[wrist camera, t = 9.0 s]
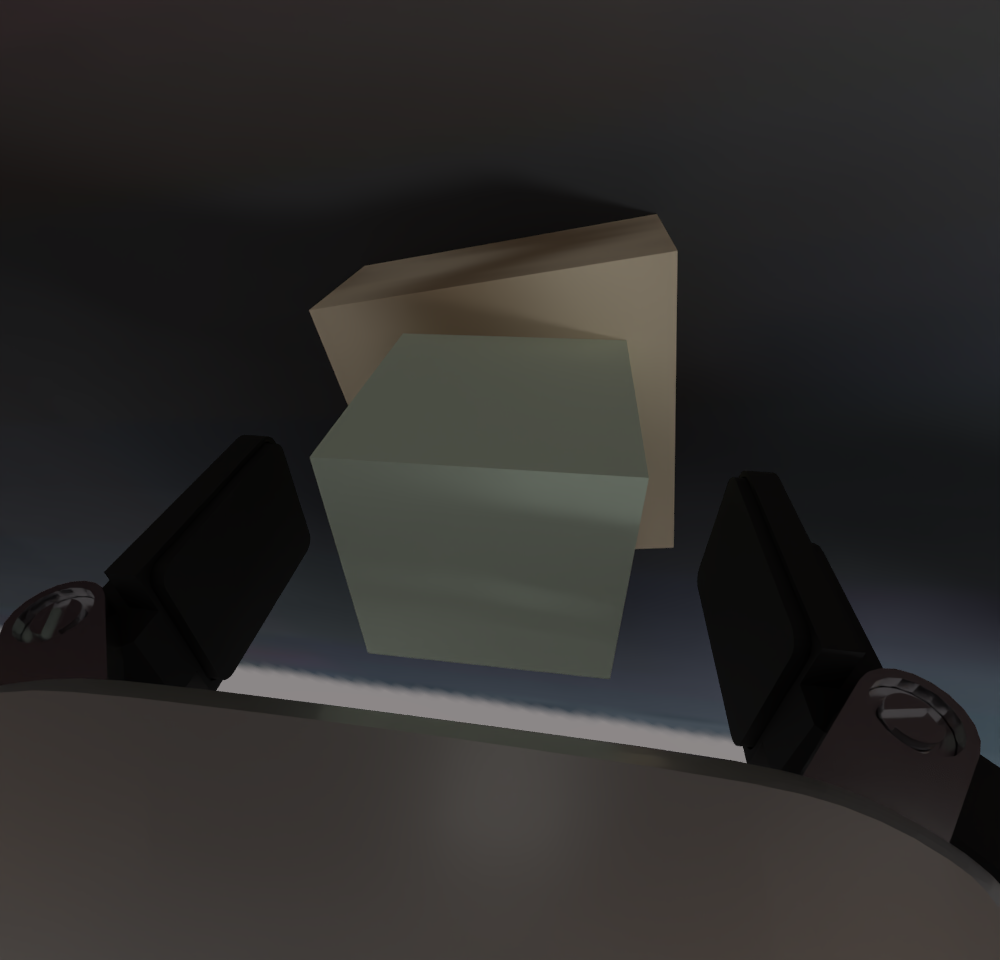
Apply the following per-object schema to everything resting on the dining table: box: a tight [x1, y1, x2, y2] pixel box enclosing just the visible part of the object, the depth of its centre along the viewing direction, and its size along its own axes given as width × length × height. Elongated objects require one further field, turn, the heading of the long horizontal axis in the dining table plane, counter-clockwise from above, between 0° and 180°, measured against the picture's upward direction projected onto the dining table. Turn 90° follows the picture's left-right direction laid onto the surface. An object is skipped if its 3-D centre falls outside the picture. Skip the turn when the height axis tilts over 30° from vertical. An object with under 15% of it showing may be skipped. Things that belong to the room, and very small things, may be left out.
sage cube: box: [310, 333, 649, 679], centre depth 11 cm, size 5×5×5 cm
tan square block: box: [309, 214, 678, 549], centre depth 15 cm, size 8×8×4 cm
